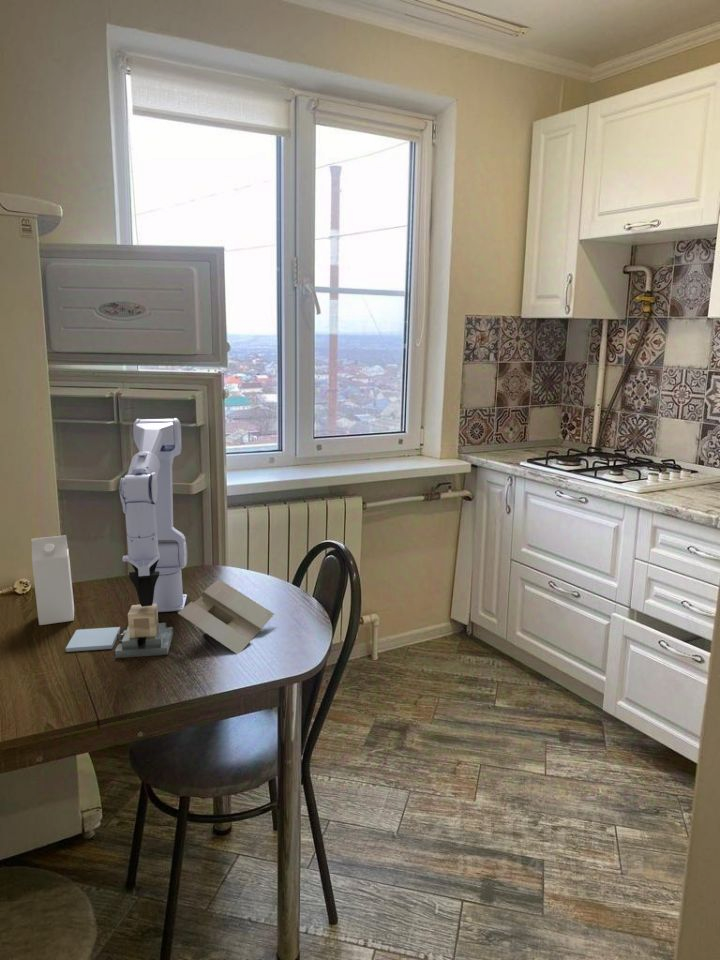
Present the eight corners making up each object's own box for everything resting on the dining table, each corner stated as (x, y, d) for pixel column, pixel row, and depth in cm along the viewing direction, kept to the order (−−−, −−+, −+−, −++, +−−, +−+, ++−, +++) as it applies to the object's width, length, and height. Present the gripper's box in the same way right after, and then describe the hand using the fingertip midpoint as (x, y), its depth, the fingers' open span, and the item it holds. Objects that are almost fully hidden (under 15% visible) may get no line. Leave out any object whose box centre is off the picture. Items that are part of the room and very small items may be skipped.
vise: (122, 636, 149) (120, 608, 147) (173, 633, 150) (171, 605, 149) (113, 658, 139) (110, 627, 138) (167, 654, 140) (165, 624, 139)
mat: (76, 633, 151) (76, 629, 150) (120, 630, 152) (120, 626, 152) (66, 651, 142) (65, 648, 142) (112, 648, 143) (111, 645, 143)
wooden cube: (133, 627, 146) (132, 605, 145) (158, 626, 147) (156, 603, 146) (129, 637, 141) (127, 614, 140) (155, 636, 142) (153, 612, 141)
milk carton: (41, 614, 161) (32, 534, 157) (74, 609, 163) (66, 531, 159) (39, 626, 154) (29, 543, 150) (73, 621, 157) (65, 539, 153)
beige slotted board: (257, 634, 159) (209, 589, 160) (276, 612, 155) (227, 566, 155) (217, 677, 145) (165, 627, 145) (238, 655, 140) (183, 604, 141)
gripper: (122, 526, 145) (127, 588, 147) (119, 546, 131) (124, 614, 134) (157, 523, 147) (161, 585, 149) (158, 542, 133) (163, 610, 136)
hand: (146, 598), depth 142 cm, fingers open, 7 cm apart
